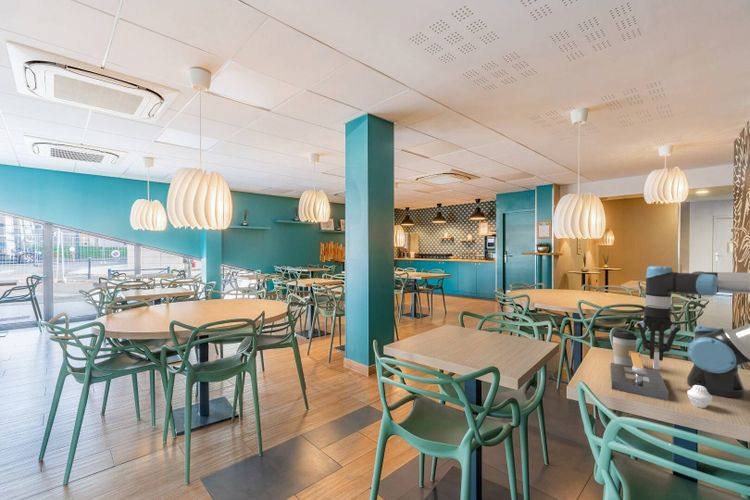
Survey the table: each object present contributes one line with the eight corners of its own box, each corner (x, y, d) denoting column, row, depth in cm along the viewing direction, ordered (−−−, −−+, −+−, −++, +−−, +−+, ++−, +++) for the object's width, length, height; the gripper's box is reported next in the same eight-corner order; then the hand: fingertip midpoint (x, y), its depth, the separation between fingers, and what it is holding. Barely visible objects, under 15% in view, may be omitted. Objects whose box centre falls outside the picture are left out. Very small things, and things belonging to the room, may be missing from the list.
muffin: (692, 408, 112) (693, 387, 112) (682, 400, 117) (683, 380, 117) (716, 411, 110) (717, 390, 109) (705, 403, 115) (706, 382, 115)
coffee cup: (606, 361, 156) (607, 329, 156) (624, 361, 157) (625, 328, 157) (622, 368, 147) (623, 334, 147) (641, 368, 148) (642, 334, 148)
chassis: (658, 378, 137) (659, 361, 137) (668, 400, 117) (668, 380, 117) (610, 369, 146) (610, 353, 146) (611, 388, 126) (612, 370, 126)
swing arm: (640, 357, 141) (640, 352, 141) (646, 375, 120) (646, 370, 120) (628, 355, 143) (628, 350, 143) (632, 372, 123) (632, 367, 123)
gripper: (678, 307, 129) (676, 369, 129) (635, 303, 136) (633, 362, 137) (682, 310, 123) (680, 375, 123) (637, 306, 130) (635, 367, 130)
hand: (655, 368), depth 130 cm, fingers closed
